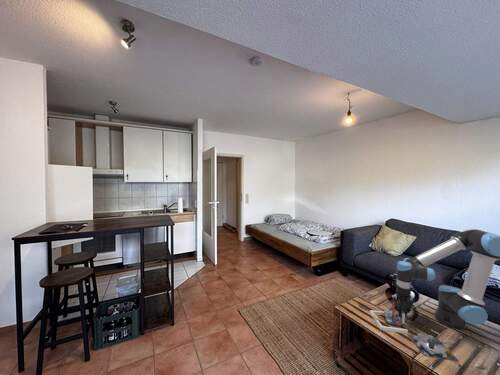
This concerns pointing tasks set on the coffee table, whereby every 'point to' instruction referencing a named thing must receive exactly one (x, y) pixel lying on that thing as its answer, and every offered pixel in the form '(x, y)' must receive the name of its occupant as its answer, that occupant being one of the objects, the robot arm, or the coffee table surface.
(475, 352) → the coffee table surface
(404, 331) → the white angled bracket
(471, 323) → the robot arm
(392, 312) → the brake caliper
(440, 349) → the sprocket
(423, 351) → the index plate
